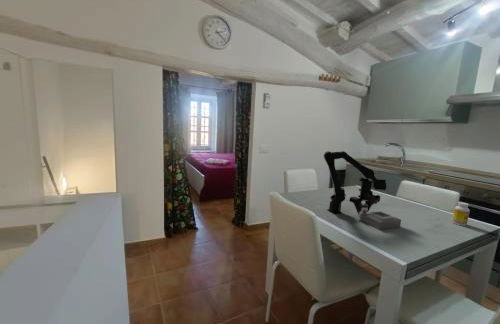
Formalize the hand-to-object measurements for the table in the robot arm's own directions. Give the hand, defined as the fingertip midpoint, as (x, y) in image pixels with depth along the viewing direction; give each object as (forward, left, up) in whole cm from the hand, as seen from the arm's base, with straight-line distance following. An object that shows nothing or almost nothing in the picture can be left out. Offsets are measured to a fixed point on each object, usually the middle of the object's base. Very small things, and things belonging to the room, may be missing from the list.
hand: (362, 212), depth 143 cm
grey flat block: (0, -13, -2) cm, 13 cm away
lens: (0, 0, -2) cm, 2 cm away
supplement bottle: (+50, -25, -2) cm, 56 cm away
